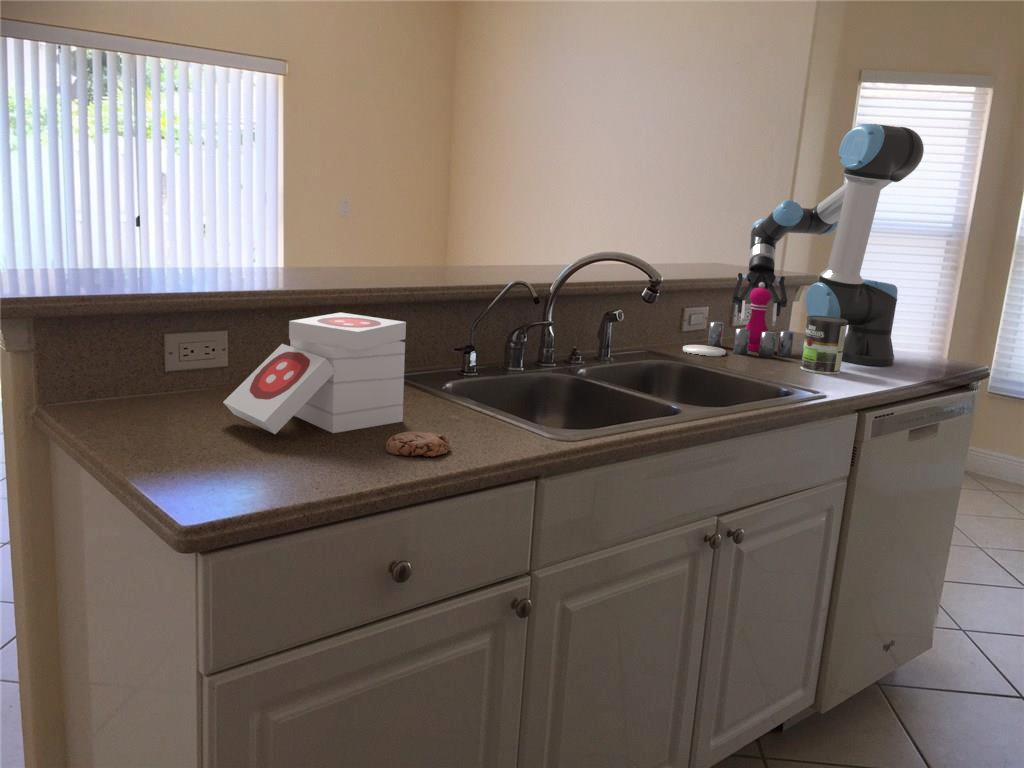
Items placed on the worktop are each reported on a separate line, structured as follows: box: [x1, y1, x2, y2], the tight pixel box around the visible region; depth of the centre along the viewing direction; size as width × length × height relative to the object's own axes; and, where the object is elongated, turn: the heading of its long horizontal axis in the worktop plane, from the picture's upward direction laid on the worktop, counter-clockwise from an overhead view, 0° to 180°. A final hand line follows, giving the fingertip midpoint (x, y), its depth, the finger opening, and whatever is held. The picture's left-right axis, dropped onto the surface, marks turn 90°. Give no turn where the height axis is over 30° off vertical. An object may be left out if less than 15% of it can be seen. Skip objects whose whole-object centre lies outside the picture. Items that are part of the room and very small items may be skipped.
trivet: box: [682, 344, 727, 357], centre depth 256 cm, size 12×12×1 cm
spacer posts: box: [707, 321, 795, 359], centre depth 261 cm, size 20×18×7 cm
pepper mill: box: [744, 282, 772, 353], centre depth 263 cm, size 7×7×20 cm
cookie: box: [385, 430, 451, 458], centre depth 148 cm, size 10×11×3 cm
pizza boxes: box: [222, 312, 407, 435], centre depth 160 cm, size 19×30×18 cm, turn 133°
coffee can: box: [799, 315, 848, 376], centre depth 237 cm, size 10×10×14 cm
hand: (758, 322), depth 260 cm, fingers open, 8 cm apart
